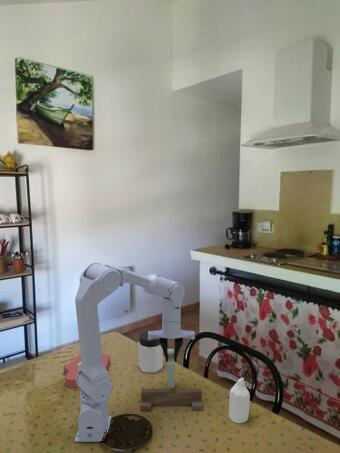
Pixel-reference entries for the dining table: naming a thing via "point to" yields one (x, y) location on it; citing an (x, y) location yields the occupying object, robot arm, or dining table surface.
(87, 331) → the robot arm
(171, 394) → the walnut stand
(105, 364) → the plaque
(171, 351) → the slotted plate
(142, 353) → the jar
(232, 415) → the bottle
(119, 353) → the dining table surface
